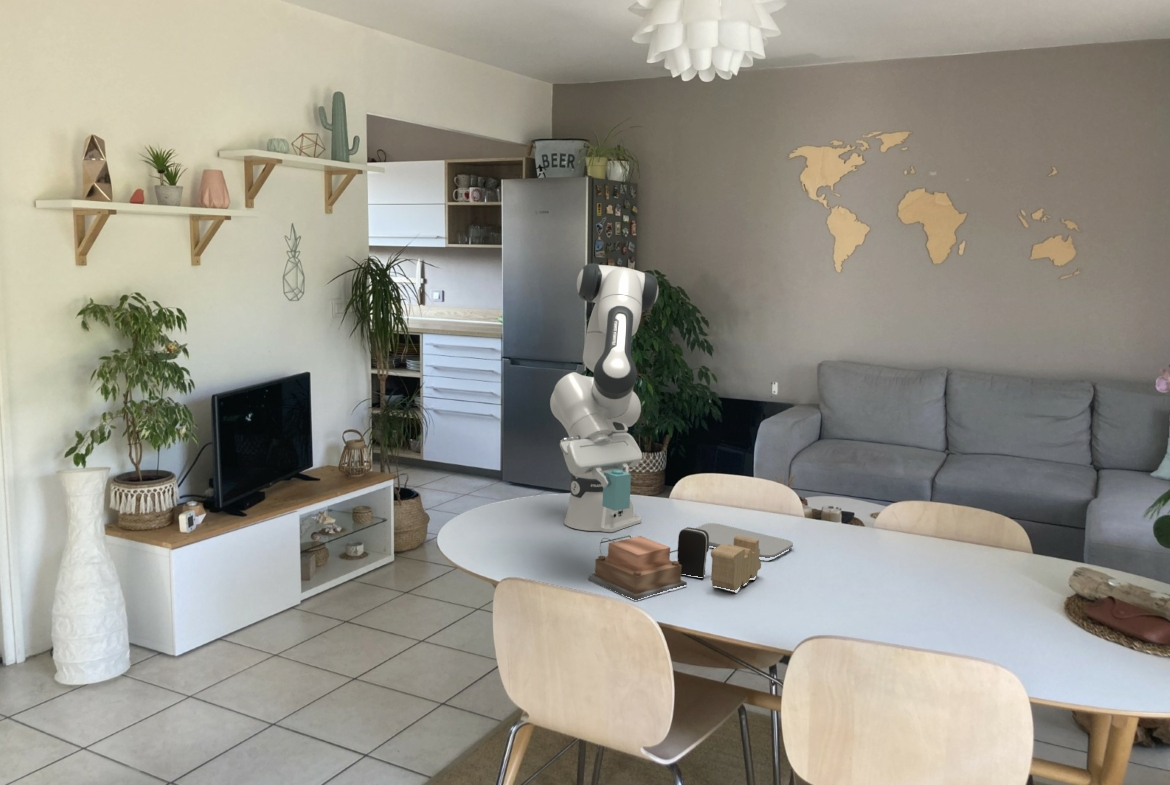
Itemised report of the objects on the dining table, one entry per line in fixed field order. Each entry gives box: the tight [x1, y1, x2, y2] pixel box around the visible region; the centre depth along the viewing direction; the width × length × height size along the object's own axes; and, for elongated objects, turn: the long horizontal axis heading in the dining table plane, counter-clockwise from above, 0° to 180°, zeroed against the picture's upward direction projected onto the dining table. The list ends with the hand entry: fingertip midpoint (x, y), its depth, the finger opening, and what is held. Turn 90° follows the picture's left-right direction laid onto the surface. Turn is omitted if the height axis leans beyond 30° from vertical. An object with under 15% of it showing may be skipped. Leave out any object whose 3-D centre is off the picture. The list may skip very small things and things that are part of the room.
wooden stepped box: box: [588, 535, 688, 600], centre depth 216 cm, size 16×16×9 cm
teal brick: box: [602, 469, 632, 511], centre depth 215 cm, size 4×4×9 cm
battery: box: [677, 526, 710, 578], centre depth 223 cm, size 7×4×11 cm, turn 64°
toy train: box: [710, 535, 762, 591], centre depth 218 cm, size 6×17×10 cm, turn 147°
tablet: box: [695, 522, 794, 558], centre depth 249 cm, size 16×26×2 cm, turn 54°
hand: (617, 484), depth 214 cm, fingers closed on teal brick, 4 cm apart
